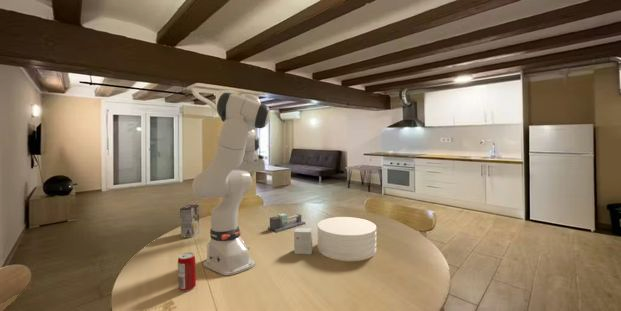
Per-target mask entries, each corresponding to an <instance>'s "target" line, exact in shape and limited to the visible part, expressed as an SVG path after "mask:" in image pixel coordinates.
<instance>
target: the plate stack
mask: <svg viewBox="0 0 621 311" xmlns="http://www.w3.org/2000/svg"><path fill="white" fill-rule="evenodd" d="M317 250H318V252H319V253H320V254H322V255H323V257H327V258H329V259H332V260H337V261H343V262H357V261H358V262H359V261H364V260H368V259H370V258H372V257H373V256H375V255H376V254H377V225H376V224H375V223H374V222H372V221H370V220H367V219H364V218H359V217H351V216H335V217H328V218H326V219H325V218H324V219H322V220H320V221H318V223H317Z"/></svg>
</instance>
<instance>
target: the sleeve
mask: <svg viewBox="0 0 621 311" xmlns="http://www.w3.org/2000/svg"><path fill="white" fill-rule="evenodd" d="M277 217H279V218H280V219H281V224H280V225H285V224H287V222H288V220H287V218H288V214H286V213H283V212H282V213H279V214H277Z"/></svg>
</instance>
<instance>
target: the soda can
mask: <svg viewBox="0 0 621 311" xmlns="http://www.w3.org/2000/svg"><path fill="white" fill-rule="evenodd" d="M177 275H178V276H177V277H178V278H177V279H178V282H177V283H178V285H177V286H178V290H179V291H181V292H189V291H192V290H193V289H194V288H195V287H196V285H197V283H196V282H197V278H196V277H197V275H196V256H195V253H194V252H184V253H181V254H180V255H178V259H177Z"/></svg>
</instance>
